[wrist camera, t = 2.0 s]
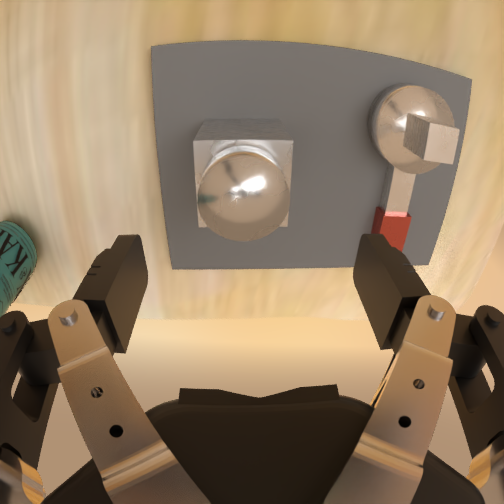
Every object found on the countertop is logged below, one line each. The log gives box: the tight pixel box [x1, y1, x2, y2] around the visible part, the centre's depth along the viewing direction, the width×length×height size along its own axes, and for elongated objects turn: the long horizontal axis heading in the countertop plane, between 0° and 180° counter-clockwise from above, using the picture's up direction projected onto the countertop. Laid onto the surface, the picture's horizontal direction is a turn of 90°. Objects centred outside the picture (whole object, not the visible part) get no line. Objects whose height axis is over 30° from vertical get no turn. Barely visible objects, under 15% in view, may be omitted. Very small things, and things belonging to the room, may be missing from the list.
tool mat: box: [151, 40, 472, 269], centre depth 23 cm, size 24×18×1 cm
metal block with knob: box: [193, 119, 293, 241], centre depth 18 cm, size 5×5×8 cm
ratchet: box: [367, 83, 460, 252], centre depth 21 cm, size 6×15×5 cm, turn 179°
